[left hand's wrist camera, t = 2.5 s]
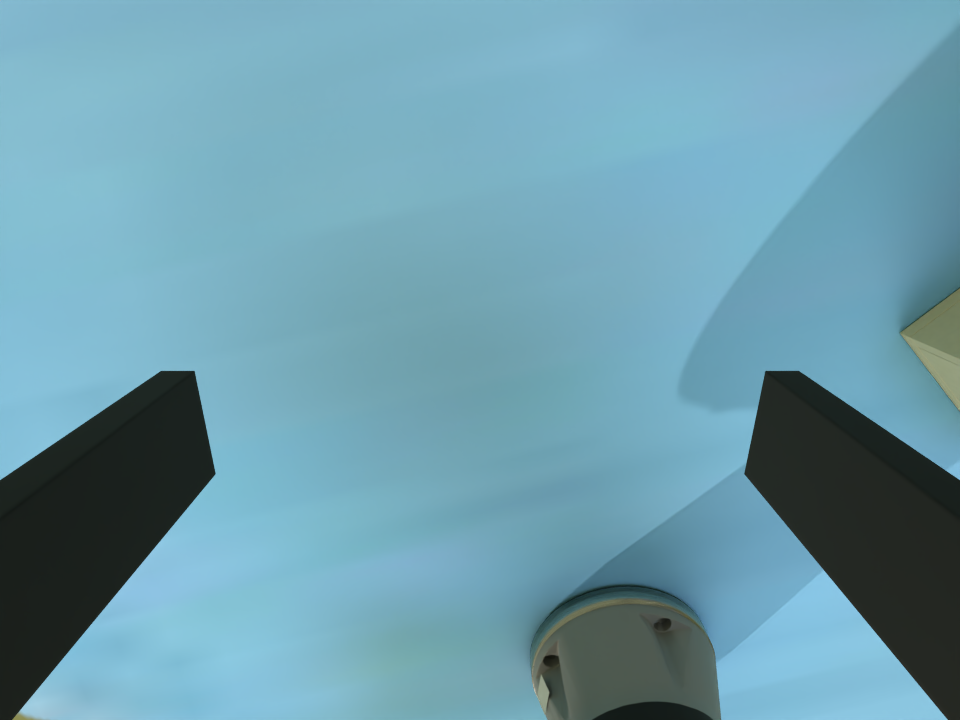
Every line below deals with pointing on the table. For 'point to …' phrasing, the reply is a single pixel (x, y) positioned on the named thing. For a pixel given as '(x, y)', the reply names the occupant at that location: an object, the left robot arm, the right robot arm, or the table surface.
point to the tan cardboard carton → (939, 344)
